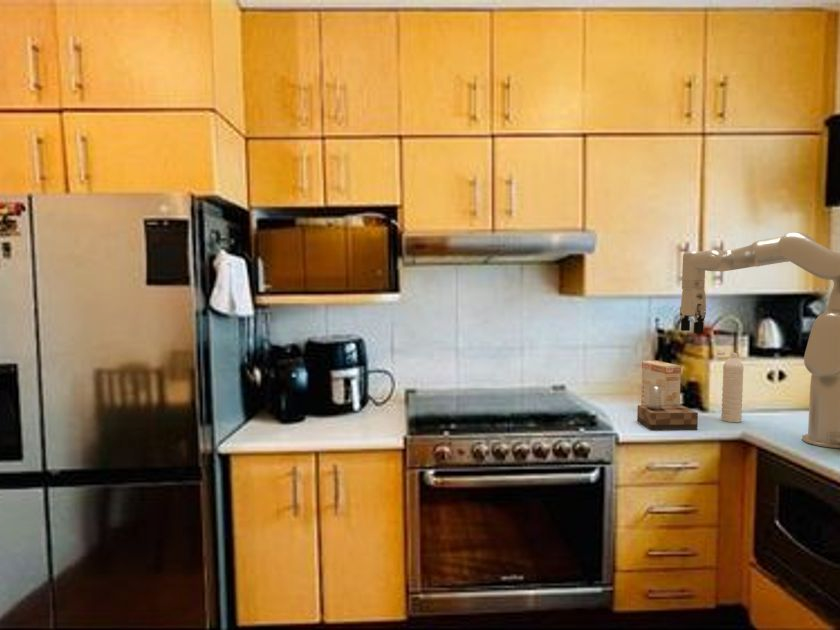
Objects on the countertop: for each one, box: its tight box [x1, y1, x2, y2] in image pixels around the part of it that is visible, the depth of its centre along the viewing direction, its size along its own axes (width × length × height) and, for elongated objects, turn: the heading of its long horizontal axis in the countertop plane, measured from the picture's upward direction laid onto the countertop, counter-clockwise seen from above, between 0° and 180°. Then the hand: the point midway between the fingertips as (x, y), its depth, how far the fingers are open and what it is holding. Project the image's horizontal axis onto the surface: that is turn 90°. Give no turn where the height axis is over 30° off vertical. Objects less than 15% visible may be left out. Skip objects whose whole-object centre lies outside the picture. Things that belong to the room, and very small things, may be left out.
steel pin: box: [649, 385, 662, 411], centre depth 203 cm, size 4×4×12 cm
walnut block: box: [636, 404, 699, 431], centre depth 203 cm, size 12×16×6 cm
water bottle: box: [716, 351, 744, 423], centre depth 210 cm, size 9×6×25 cm
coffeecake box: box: [640, 360, 682, 405], centre depth 222 cm, size 15×7×20 cm, turn 12°
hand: (691, 331), depth 211 cm, fingers open, 9 cm apart
